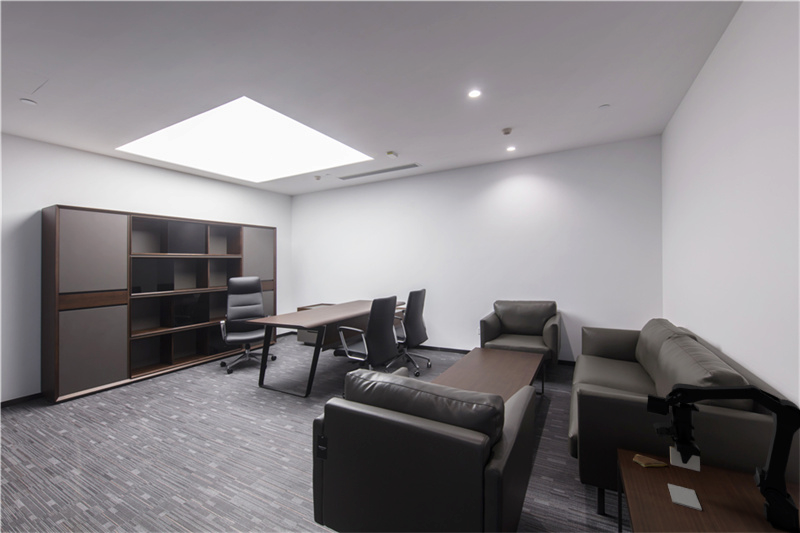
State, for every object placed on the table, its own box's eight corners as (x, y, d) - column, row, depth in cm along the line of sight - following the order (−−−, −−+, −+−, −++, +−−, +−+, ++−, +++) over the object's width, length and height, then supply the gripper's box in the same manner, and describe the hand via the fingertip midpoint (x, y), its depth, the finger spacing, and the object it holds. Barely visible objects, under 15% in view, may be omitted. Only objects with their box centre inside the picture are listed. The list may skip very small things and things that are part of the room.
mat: (694, 491, 117) (693, 490, 117) (701, 510, 108) (701, 509, 108) (667, 485, 121) (667, 483, 121) (673, 502, 112) (673, 501, 112)
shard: (668, 467, 133) (667, 462, 133) (665, 475, 127) (664, 470, 128) (636, 456, 141) (636, 452, 141) (632, 464, 135) (632, 459, 136)
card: (699, 469, 115) (698, 452, 115) (700, 471, 114) (699, 454, 114) (670, 462, 119) (669, 446, 119) (671, 464, 118) (670, 448, 118)
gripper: (651, 405, 129) (652, 444, 129) (658, 424, 114) (659, 468, 113) (687, 411, 123) (689, 452, 123) (700, 432, 107) (701, 479, 107)
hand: (683, 462), depth 117 cm, fingers closed on card, 2 cm apart
